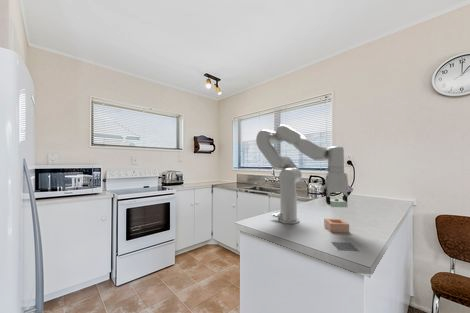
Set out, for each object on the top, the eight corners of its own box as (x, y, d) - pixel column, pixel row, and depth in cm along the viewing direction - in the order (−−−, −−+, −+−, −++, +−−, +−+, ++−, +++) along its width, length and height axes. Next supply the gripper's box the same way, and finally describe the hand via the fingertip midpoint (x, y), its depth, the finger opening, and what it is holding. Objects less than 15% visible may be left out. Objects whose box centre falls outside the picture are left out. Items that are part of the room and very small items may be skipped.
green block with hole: (331, 207, 100) (331, 200, 101) (326, 203, 108) (326, 197, 108) (347, 207, 100) (347, 200, 100) (341, 204, 107) (340, 197, 107)
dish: (330, 232, 100) (330, 223, 100) (324, 226, 109) (324, 218, 109) (349, 233, 99) (349, 224, 99) (341, 227, 108) (341, 219, 108)
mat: (338, 251, 79) (338, 250, 79) (330, 243, 87) (330, 241, 87) (359, 252, 79) (359, 251, 79) (350, 243, 87) (350, 242, 87)
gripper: (321, 170, 101) (321, 205, 101) (357, 170, 100) (357, 206, 99) (316, 169, 109) (317, 202, 108) (350, 169, 107) (350, 202, 107)
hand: (336, 203), depth 104 cm, fingers closed on green block with hole, 7 cm apart
